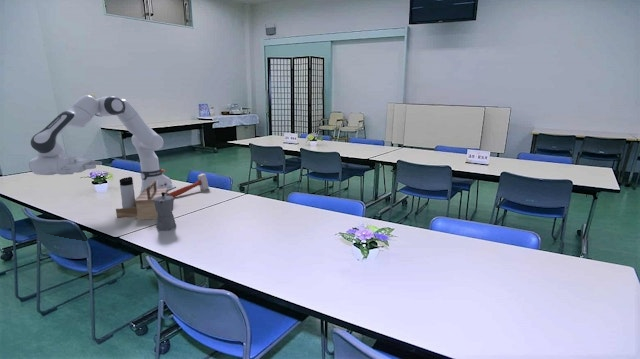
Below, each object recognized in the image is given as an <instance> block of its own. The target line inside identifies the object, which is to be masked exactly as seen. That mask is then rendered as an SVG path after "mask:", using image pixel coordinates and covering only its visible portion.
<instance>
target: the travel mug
mask: <svg viewBox="0 0 640 359" xmlns="http://www.w3.org/2000/svg"><path fill="white" fill-rule="evenodd" d="M134 188H135V187H134V180H133V176H128V177H123V178H121V179H119V189H120V195H121V205H123V207H122V208H136V204H135V200H136V197H135V189H134Z"/></svg>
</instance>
